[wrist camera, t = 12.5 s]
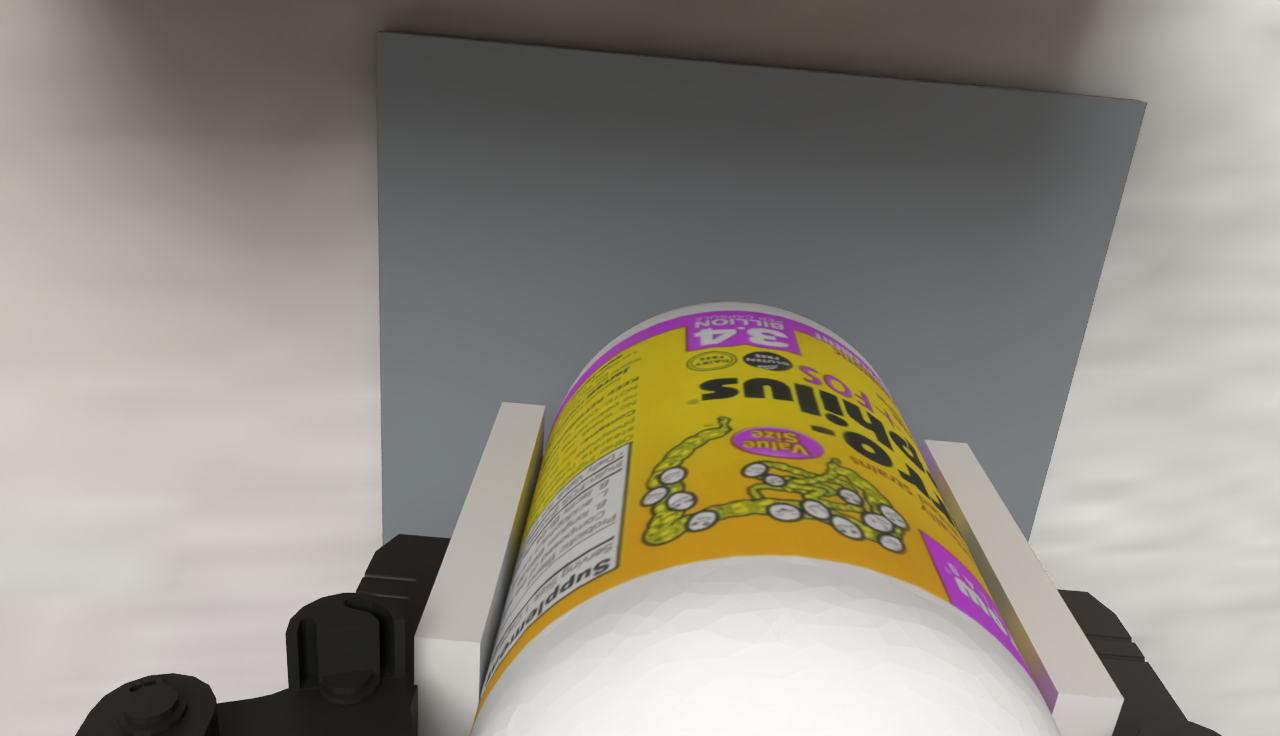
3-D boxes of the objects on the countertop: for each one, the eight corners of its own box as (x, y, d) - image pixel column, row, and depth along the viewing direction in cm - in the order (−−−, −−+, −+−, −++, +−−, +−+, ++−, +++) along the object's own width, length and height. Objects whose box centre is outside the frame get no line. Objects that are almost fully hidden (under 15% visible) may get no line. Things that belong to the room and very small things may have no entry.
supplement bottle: (971, 428, 19) (1491, 1226, 7) (745, 652, 21) (847, 1563, 9) (694, 212, 17) (755, 757, 6) (481, 477, 20) (192, 1283, 8)
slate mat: (976, 702, 24) (981, 714, 23) (388, 651, 24) (384, 662, 23) (1137, 100, 19) (1146, 102, 18) (381, 30, 18) (376, 31, 18)
